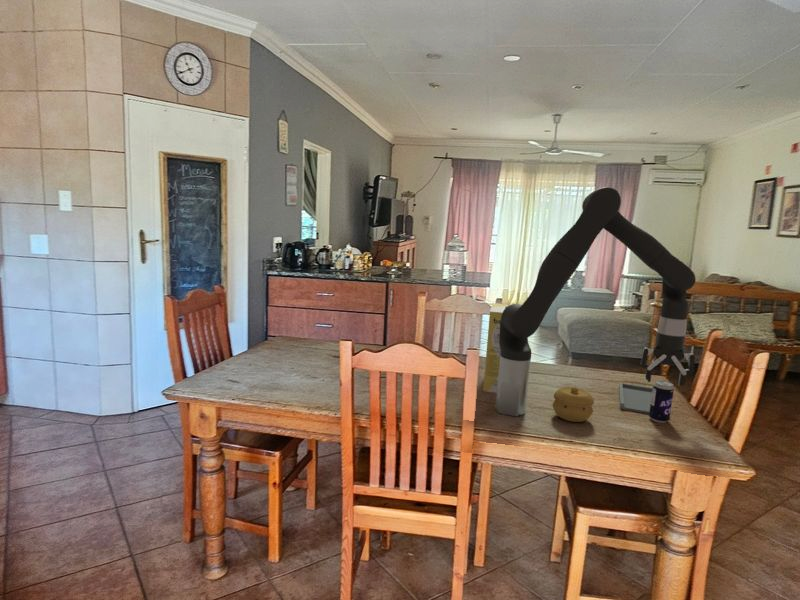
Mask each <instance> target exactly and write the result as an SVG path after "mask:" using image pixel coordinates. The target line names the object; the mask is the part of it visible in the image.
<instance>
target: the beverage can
mask: <svg viewBox="0 0 800 600" xmlns="http://www.w3.org/2000/svg"><path fill="white" fill-rule="evenodd" d="M652 388H653V391H652V398H651V404H650V411H649V414H648V416H649V418H650V419H651V420H652V421H653V422H656V423H660V424H666V423H667V422H668V421H670V417H671V413H672V412H671V411H672V404H673V398H674V391H675V388H674V384H673V383H671V382H669V381H666V380H665V381H664V380H655V382H654V384H653V385H652Z"/></svg>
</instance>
